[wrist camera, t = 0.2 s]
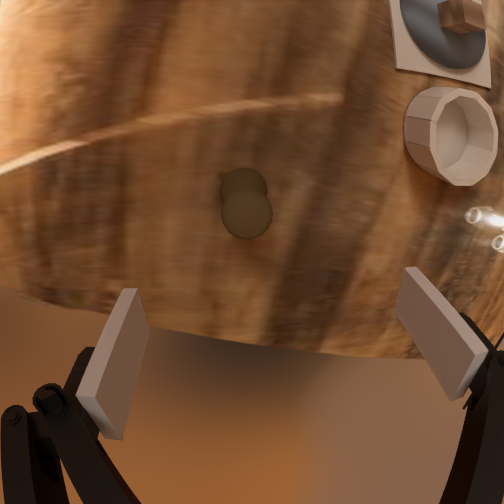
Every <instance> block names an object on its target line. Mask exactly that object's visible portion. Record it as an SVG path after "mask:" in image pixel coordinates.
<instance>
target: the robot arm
mask: <svg viewBox="0 0 504 504" xmlns="http://www.w3.org/2000/svg"><path fill="white" fill-rule="evenodd" d="M394 312H395V314H396V315H397V317H398V318H399V320H400V321H401V323H402V324H403V326H404V327H405V329H406V330H407V332H408V333H409V335H410V336H411V338H412V339H413V341H414V343H415V344H416V346H417V347H418V349H419V350H420V352H421V354H422V355H423V357H424V358H425V360H426V362H427V363H428V365H429V367H430V368H431V370H432V372H433V373H434V375H435V376H436V378H437V380H438V382H439V383H440V385H441V387H442V388H443V390H444V392H445V394H446V395H447V397H448V399H449V400H450V401H453V400H455V399H458V398H461V397H463V396H464V394H465V393H466V391H467V389H468V388H470V390H471V391H472V393H471V395H470V397H469V398H468V400H467V402H466V403H465V405H464V407H463V409H465V408H466V406H467V405H468V407H467V412H466V417H465V421H464V425H463V429H462V433H461V437H460V441H459V445H458V449H457V452H456V456H455V459H454V462H453V466H452V469H451V472H450V475H449V478H448V481H447V484H446V486H445V489H444V492H443V495H442V498H441V500H440V502H439V504H501V503H502V499H503V495H504V351H501V350H500V351H497V350H496V348H495V347H494V346H493V345H492V343H491V342H490V341H489V340H488V339H487V337H486V336H485V335H484V334H483V333H482V332H481V330H480V329H479V328H478V327H476V324H475V323H474V322H473V321H472V320H471V318H469V317H468V316H466V315H465V314H463V313H462V312H461V313H458V312H457V311H456V310H455V309H454V308H453V307H452V306H451V304H450V303H449V302H448V301H447V300H446V299H445V298H444V296H443V295H442V294H441V293H440V292H439V291H438V290H437V289H436V288H435V286H434V285H433V284H432V283H431V282H430V281H429V280H428V279H427V278H426V277H425V276H424V275H423V274H422V272H421V271H420V270H419V269H418V268H417V267H407V268H404V269H403V274H402V279H401V284H400V288H399V293H398V297H397V302H396V306H395V310H394ZM149 334H150V330H149V327H148V323H147V320H146V317H145V313H144V310H143V306H142V302H141V299H140V295H139V291H138V288H124V289H123V290H122V292H121V294H120V296H119V298H118V300H117V302H116V304H115V306H114V308H113V310H112V312H111V314H110V317H109V319H108V321H107V323H106V325H105V327H104V330H103V332H102V334H101V336H100V338H99V341H98V343H97V345H96V347H86V348H85V349H84V350H83V351H82V352H81V353H80V354H79V355H78V357H77V359H76V361H75V363H74V364H75V365H74V366H73V368H72V370H71V373H70V375H69V377H68V379H67V381H66V384H65V386H64V388H63V389H62V388H61V386H59V385H57V384H55V383H49V384H45V385H43V386H41V387H40V388H38V389H37V391H36V392H35V393H34V396H33V405H34V406H35V408H36V409H37V410H38V412H30V413H28V412H27V411H26V410H25V409H24V407H23V406H20V405H13V406H10V407H9V408H7V409H6V410H5V411H4V413H3V414H2V417H1V469H2V482H3V493H4V500H5V504H70V503H69V500H68V496H67V491H66V487H65V483H64V478H63V473H62V468H61V463H60V459H61V461H62V463H63V465H64V467H65V470H66V471H67V474H68V476H69V478H70V480H71V482H72V484H73V485H74V487H75V489H76V491H77V493H78V495H79V497H80V498H81V500H82V502H83V504H141V502H140V501H139V500H138V499H137V497H136V496H135V495H134V493H133V492H132V490H131V489H130V488H129V486H128V485H127V483H126V482H125V481H124V479H123V478H122V476H121V475H120V473H119V472H118V470H117V469H116V467H115V466H114V464H113V463H112V461H111V459H110V458H109V456H108V455H107V453H106V452H105V450H104V448H103V447H102V445H101V443H100V442H99V440H98V439H97V438H98V434H99V431H100V432H101V433H102V435H103V436H104V438H107V439H115V440H123V436H124V432H125V427H126V423H127V418H128V414H129V410H130V406H131V402H132V397H133V394H134V390H135V385H136V382H137V378H138V374H139V370H140V366H141V363H142V359H143V356H144V352H145V348H146V345H147V341H148V338H149Z"/></svg>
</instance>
